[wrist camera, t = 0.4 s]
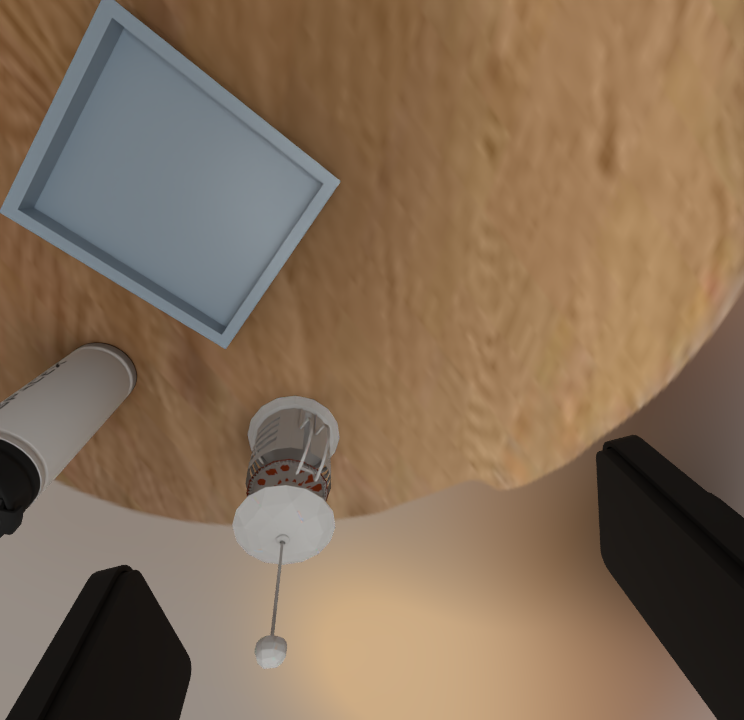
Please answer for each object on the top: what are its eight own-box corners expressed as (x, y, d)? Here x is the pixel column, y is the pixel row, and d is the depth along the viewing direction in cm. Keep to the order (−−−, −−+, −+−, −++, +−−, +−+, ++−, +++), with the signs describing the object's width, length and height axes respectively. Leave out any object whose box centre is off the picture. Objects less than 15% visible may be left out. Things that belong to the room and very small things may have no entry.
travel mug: (133, 409, 46) (8, 564, 28) (63, 389, 45) (-117, 539, 26) (147, 355, 44) (23, 483, 26) (74, 333, 43) (-113, 452, 24)
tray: (22, 209, 39) (-1, 212, 36) (122, 7, 34) (104, -8, 31) (231, 338, 45) (225, 349, 42) (339, 180, 40) (340, 181, 37)
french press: (233, 455, 50) (156, 700, 26) (277, 366, 46) (232, 557, 23) (315, 485, 52) (310, 732, 29) (362, 403, 49) (398, 608, 26)
